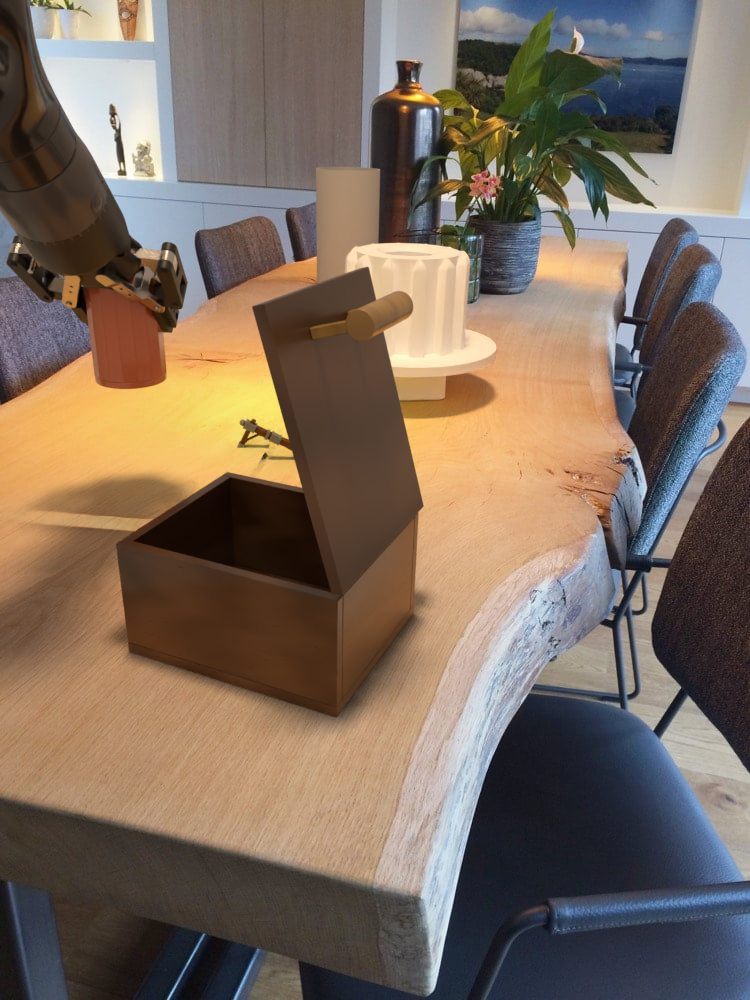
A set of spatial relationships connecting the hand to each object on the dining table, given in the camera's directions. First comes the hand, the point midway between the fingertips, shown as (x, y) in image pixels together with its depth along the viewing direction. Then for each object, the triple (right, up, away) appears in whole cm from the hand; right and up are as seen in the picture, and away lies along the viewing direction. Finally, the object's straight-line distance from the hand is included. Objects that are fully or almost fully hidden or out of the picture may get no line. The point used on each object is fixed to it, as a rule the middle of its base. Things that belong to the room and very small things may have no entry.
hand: (132, 321), depth 75 cm
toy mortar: (+11, -12, +17) cm, 23 cm away
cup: (0, -5, +1) cm, 5 cm away
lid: (+20, -11, -23) cm, 32 cm away
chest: (+15, -26, -13) cm, 33 cm away
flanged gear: (+26, -1, +41) cm, 49 cm away
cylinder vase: (+16, +26, +97) cm, 101 cm away
